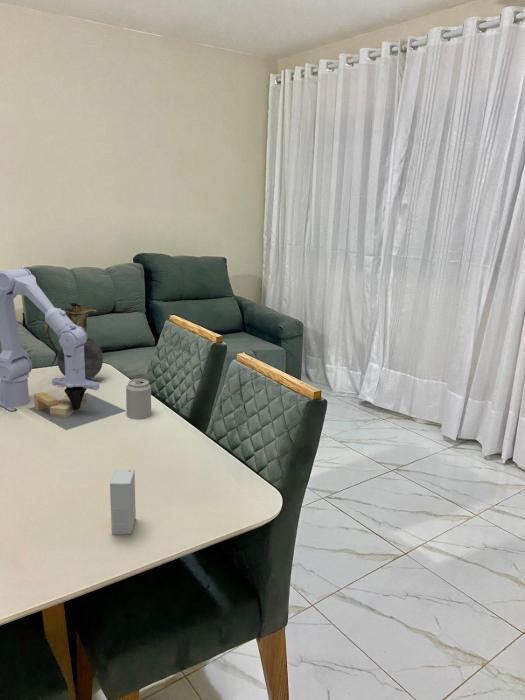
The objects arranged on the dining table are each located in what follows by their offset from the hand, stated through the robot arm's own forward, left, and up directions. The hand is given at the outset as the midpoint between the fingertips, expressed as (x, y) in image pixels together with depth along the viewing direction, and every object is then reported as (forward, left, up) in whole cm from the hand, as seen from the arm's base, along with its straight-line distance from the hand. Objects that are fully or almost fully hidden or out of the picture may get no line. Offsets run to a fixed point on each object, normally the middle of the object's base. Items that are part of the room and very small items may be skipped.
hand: (76, 408), depth 167 cm
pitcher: (-26, +16, -2) cm, 31 cm away
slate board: (-2, +1, -2) cm, 3 cm away
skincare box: (+58, -25, -2) cm, 63 cm away
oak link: (-4, 0, -1) cm, 4 cm away
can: (+14, +13, -2) cm, 19 cm away
